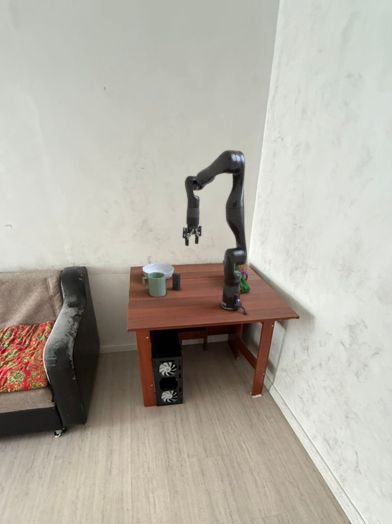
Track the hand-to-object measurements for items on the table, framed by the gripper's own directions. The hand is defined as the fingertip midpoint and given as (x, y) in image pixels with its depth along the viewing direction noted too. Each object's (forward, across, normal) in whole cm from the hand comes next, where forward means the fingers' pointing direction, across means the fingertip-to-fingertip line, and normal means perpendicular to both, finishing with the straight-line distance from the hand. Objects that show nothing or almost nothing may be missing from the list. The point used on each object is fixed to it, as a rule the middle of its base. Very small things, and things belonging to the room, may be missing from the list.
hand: (191, 244), depth 178 cm
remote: (+26, -11, +1) cm, 28 cm away
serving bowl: (+25, -8, +22) cm, 34 cm away
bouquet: (+24, +23, -22) cm, 40 cm away
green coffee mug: (+27, -25, +7) cm, 37 cm away
